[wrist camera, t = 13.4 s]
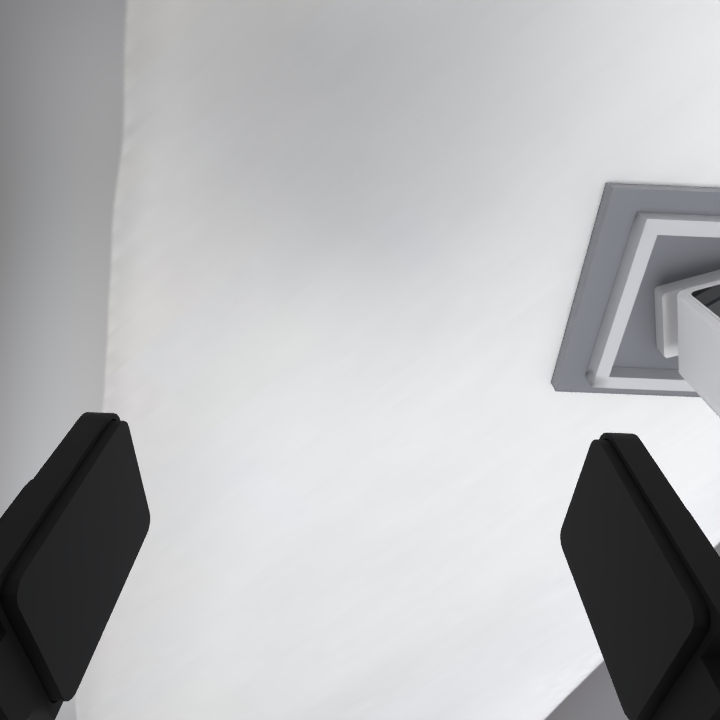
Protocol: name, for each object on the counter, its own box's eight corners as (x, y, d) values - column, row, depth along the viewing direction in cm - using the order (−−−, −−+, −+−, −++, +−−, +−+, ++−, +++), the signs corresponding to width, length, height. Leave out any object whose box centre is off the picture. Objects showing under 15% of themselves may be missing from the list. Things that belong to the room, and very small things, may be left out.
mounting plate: (606, 183, 35) (622, 193, 33) (845, 193, 35) (878, 204, 33) (551, 382, 44) (561, 402, 41) (744, 390, 44) (765, 410, 41)
